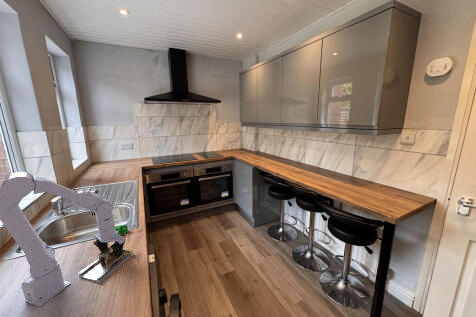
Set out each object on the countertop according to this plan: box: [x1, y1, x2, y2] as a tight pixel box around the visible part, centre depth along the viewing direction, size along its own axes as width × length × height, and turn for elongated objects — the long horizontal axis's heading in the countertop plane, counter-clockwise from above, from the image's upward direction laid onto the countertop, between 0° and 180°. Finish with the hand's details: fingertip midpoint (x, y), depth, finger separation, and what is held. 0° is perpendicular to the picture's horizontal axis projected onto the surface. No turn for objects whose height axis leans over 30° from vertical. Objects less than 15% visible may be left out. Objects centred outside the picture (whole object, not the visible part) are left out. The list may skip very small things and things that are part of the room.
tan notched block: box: [97, 246, 124, 267], centre depth 82 cm, size 8×4×5 cm, turn 164°
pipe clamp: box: [115, 223, 129, 237], centre depth 102 cm, size 11×4×5 cm, turn 111°
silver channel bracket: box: [77, 247, 134, 284], centre depth 81 cm, size 16×11×3 cm
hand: (112, 255), depth 83 cm, fingers open, 7 cm apart
